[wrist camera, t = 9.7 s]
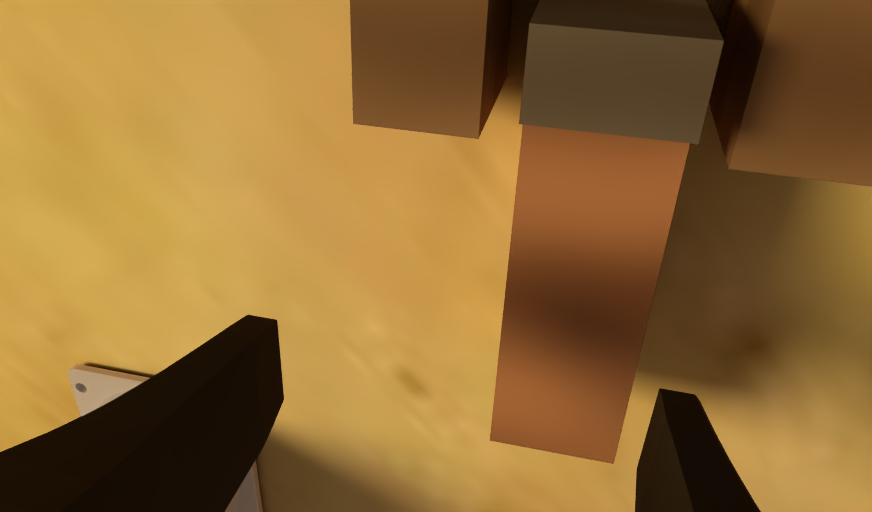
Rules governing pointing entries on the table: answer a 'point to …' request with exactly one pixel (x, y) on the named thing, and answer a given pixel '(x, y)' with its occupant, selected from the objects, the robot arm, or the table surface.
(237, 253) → the table surface
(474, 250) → the table surface
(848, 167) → the board
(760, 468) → the table surface
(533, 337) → the brown boxy piece
